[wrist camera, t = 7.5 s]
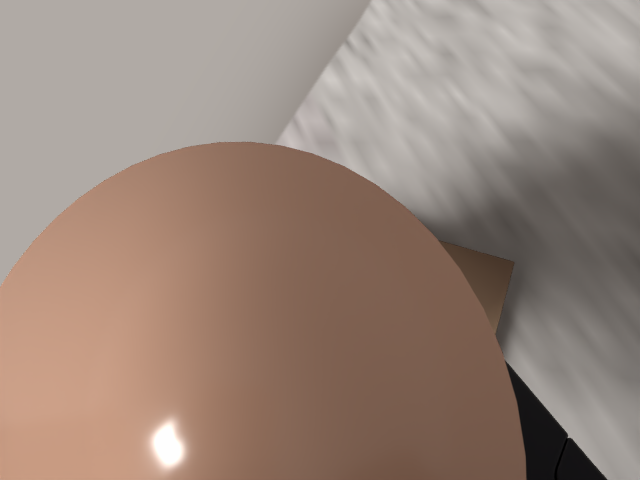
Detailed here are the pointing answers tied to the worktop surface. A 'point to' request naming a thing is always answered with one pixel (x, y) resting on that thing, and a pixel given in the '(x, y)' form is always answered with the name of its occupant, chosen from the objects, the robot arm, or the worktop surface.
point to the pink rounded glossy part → (248, 333)
